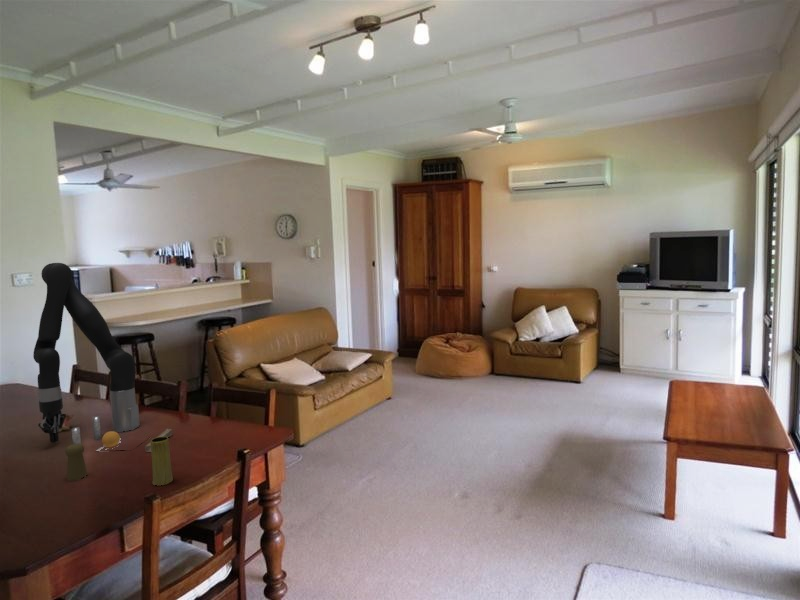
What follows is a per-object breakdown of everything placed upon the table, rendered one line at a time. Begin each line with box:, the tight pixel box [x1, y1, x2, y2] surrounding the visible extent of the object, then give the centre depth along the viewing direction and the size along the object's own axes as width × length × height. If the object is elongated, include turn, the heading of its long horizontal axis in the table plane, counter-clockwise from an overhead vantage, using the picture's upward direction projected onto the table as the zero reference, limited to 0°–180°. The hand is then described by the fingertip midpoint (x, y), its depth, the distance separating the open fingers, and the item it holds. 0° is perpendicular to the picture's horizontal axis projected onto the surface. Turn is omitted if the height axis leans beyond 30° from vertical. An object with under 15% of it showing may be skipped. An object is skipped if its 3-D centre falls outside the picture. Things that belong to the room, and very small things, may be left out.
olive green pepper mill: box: [65, 443, 89, 482], centre depth 175 cm, size 6×6×11 cm
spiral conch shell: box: [58, 413, 75, 433], centre depth 222 cm, size 9×10×10 cm
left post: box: [70, 426, 82, 445], centre depth 197 cm, size 3×3×9 cm
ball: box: [101, 430, 120, 447], centre depth 201 cm, size 6×6×6 cm
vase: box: [150, 436, 174, 487], centre depth 169 cm, size 6×6×14 cm
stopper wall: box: [144, 428, 173, 453], centre depth 204 cm, size 2×18×2 cm, turn 179°
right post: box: [91, 415, 103, 441], centre depth 210 cm, size 3×3×9 cm
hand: (54, 441), depth 204 cm, fingers closed
